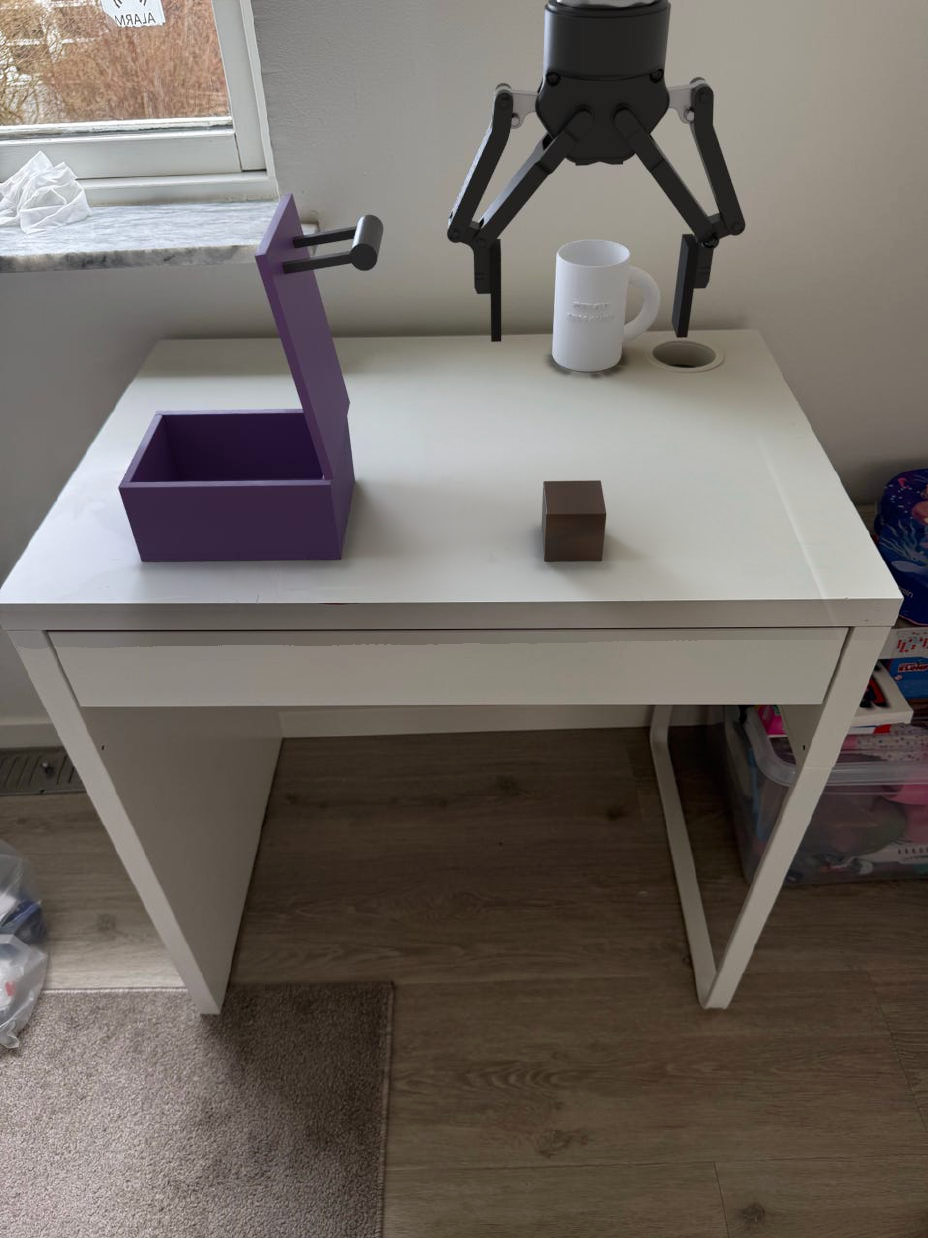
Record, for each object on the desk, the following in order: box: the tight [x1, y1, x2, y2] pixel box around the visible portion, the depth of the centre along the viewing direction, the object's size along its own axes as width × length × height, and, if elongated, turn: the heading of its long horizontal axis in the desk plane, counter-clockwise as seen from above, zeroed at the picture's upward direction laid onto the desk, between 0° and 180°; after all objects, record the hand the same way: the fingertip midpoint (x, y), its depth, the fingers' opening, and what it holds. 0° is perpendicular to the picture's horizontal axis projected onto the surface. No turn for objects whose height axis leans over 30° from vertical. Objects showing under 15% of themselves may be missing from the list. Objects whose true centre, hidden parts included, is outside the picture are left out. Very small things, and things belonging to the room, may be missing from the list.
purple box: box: [117, 408, 356, 562], centre depth 85 cm, size 18×13×8 cm
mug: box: [551, 239, 661, 373], centre depth 106 cm, size 8×12×12 cm
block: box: [541, 479, 607, 562], centre depth 82 cm, size 5×5×5 cm
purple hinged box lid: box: [254, 193, 384, 481], centre depth 75 cm, size 19×13×8 cm
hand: (587, 332), depth 70 cm, fingers open, 13 cm apart
